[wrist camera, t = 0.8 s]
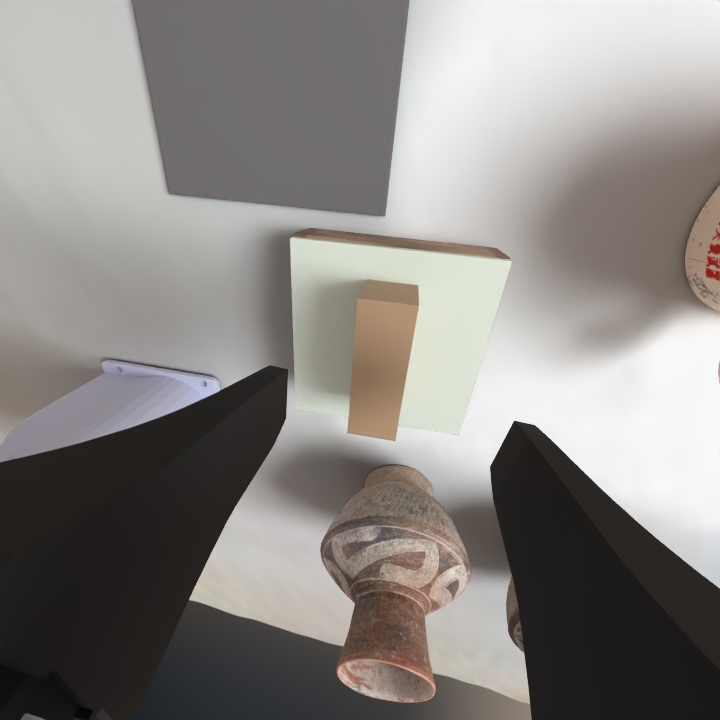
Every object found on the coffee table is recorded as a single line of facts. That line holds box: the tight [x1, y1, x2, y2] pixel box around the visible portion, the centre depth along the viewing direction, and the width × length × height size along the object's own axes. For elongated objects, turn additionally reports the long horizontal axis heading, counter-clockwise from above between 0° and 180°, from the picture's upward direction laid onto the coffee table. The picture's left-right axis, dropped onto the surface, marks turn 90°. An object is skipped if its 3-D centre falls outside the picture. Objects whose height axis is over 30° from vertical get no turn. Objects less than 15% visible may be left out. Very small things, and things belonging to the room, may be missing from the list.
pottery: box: [320, 465, 524, 702], centre depth 21 cm, size 11×25×12 cm, turn 75°
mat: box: [133, 0, 409, 216], centre depth 14 cm, size 12×12×1 cm
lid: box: [290, 236, 512, 441], centre depth 15 cm, size 10×10×4 cm
